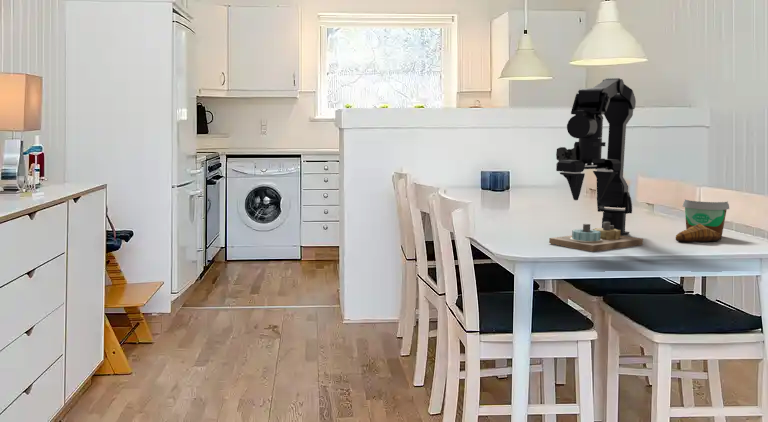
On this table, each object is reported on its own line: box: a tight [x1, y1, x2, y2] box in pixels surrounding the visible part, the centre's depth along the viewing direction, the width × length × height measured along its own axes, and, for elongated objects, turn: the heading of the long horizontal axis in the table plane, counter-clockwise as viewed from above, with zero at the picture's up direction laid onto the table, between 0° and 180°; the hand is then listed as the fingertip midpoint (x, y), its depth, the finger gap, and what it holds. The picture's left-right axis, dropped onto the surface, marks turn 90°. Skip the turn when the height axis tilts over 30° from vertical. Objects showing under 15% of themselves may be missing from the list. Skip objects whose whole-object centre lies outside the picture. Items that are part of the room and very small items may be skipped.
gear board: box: [548, 222, 644, 252], centre depth 201 cm, size 20×14×6 cm
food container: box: [682, 199, 730, 238], centre depth 217 cm, size 12×6×10 cm, turn 68°
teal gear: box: [571, 228, 601, 241], centre depth 198 cm, size 7×7×2 cm
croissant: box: [675, 224, 722, 243], centre depth 208 cm, size 14×7×5 cm, turn 104°
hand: (587, 199), depth 197 cm, fingers open, 9 cm apart
